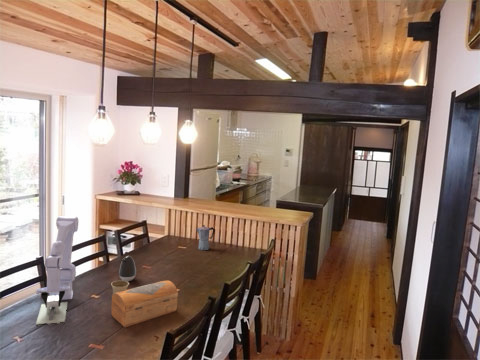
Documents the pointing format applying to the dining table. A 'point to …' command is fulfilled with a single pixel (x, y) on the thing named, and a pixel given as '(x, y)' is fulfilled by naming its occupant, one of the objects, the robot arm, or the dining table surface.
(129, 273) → the egg shaped speaker
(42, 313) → the rail plate
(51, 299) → the block
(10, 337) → the dining table surface
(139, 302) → the wooden box
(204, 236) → the moka pot
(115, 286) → the flower pot
